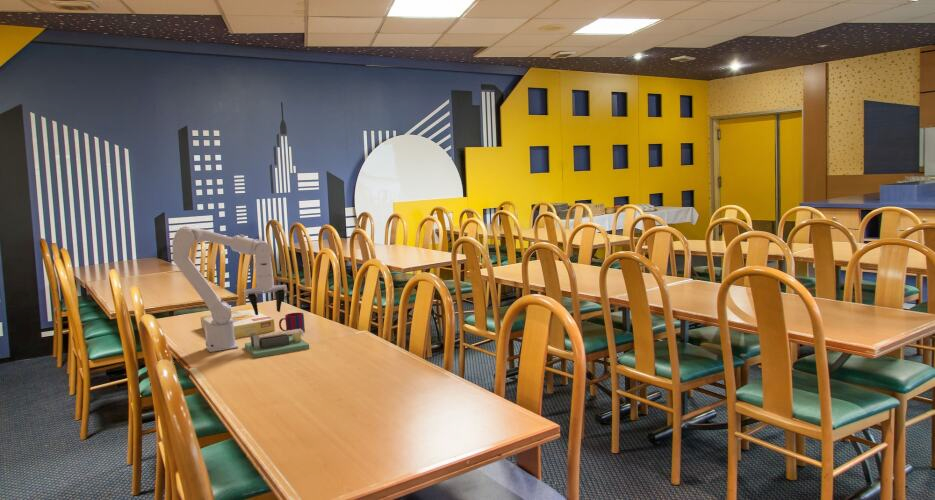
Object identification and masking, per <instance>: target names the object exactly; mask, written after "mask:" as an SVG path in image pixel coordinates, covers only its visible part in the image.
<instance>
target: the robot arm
mask: <svg viewBox="0 0 935 500" xmlns="http://www.w3.org/2000/svg"><path fill="white" fill-rule="evenodd" d="M195 242H196V244H200V243H203V242H208V243H213V244H217V245H223V246H228V247H230V249H231V251H232V252H234V253H240V254H243V255H248V256H253V255H254V261H255V262H254V269H255V279H256V280H255V282H256V287H254V288H247V289H243V295H244V296H245V297H247V298H248V300H249V302H250V305H251V306H252V309H253V310H254V312H255V315H258V312H259V309H258V308H259V307H258V296H257V295H261V294H270V293H274V295H275V303H276V304H275V305H276V306H275V307H276V311H277V312H278V313H281V307H282V302H283V300H284V297H285V294H286V292H285V291H288V287H287V284H280V285H279V284H276V285H275V284H274V275H273V262H272V252H273V250H272V248H271V245H270V244H269V243H267V242H266V241H264V240H262V239H261V240H259V239H258V238H255V239H254V238H251V237H250V238H249V237H247V236H245V234H243V233H242V234H241V233H240V234H237V235H234V236H233V237H232V236H229V235H228V236H227V235H226V234H225V235H224V234H222V233H217V232H214V231H211V230H208V229H202V228H195V227H192V228H191V227H188V226H183V227H180V228H179V229H177V230H176V232H175V234H174V236H173V240H172V243H171V245H172V261H173V262H174V264H175V266H176V267H177V268H178V269H179V270H180V272H181V273H182V274H183V276H184V277H185V279H186V280H187V281H188V283H190V285H191V286H192V287H193V289H194V290H195V291H196V294H198V296H199V297H200V298H201V299H202V301H203V302H204V303H205V305H206V307H207V309H208V311H210V313H211V314H210V315H212V318H213V320H212V321H211V324H209V325H205V330H204V334H205V335H204V336H205V347H206V349H207V351H208V352H210V353H213V352H218V351H224V350H231V349H235V348H239V345H238V344H237V343H236V338H235V336H234V324H233V319H231V311H232V310H231V306H230V305H229V303H228V302H226V301H224V300H223V299H221V297H220V296H219V295H218V294H217V293H216V291H215V290H214V289H213V288H212V286H211V285H210V284H209V282H208V280H207V279H206V278H205V277H204V276H203V274H202V273H201V272H200V270H199V269H198V267H197V266H196V265H195V264H194V262H193V261H192V260H191V259H190V251H191V248H192V247H193V245H194V243H195Z"/></svg>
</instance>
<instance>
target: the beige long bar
mask: <svg viewBox="0 0 935 500" xmlns="http://www.w3.org/2000/svg"><path fill="white" fill-rule="evenodd" d="M295 333H301V337H303V336H304V332H303V330H302V329H295V330H288V331H282V330H281V331H276V332H275V331H273V332H267V333H261V334H256V335H258V336H259V339H262V338H269V337H275V336H282V335H288V336H290V335H292V334H295ZM256 335H254V336H256Z"/></svg>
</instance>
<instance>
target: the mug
mask: <svg viewBox="0 0 935 500" xmlns="http://www.w3.org/2000/svg"><path fill="white" fill-rule="evenodd" d="M283 320H285V328H286V329H284V328H282V321H283ZM278 326H279V329H280V330H281V331H288V330H295V329H302V330H303V333H305V331H306V330H305V327H306V326H305V315H304V313H303V312H290V313H287V314H285V316H284V317H283V318H280V320H279V322H278Z"/></svg>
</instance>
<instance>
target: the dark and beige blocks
mask: <svg viewBox="0 0 935 500" xmlns="http://www.w3.org/2000/svg"><path fill="white" fill-rule="evenodd" d="M254 335H256V336H254ZM258 335H259V334H256V333H255V332H253V333H250V336H249V338H250V342H251V346H254V349H255V350H256V349H260V347H261V348H262V349H266V348H272V347H278V346H285V345H290V342H289V336H290V335H282V336H275V337H269V338H262V339H259V336H258ZM291 336H292V340H293V341H295V342H300V341H301V339H302V336H301V333H295V334H291Z"/></svg>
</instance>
